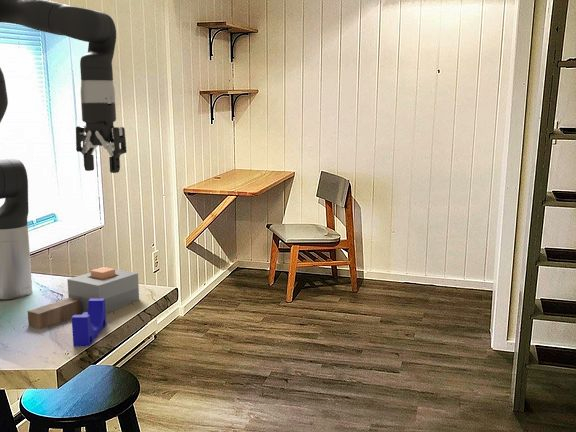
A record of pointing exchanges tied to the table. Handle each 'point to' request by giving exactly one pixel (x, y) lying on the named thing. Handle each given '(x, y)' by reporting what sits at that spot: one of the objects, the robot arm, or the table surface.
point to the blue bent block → (89, 323)
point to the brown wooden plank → (53, 313)
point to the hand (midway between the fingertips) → (102, 171)
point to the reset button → (103, 273)
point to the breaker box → (105, 289)
